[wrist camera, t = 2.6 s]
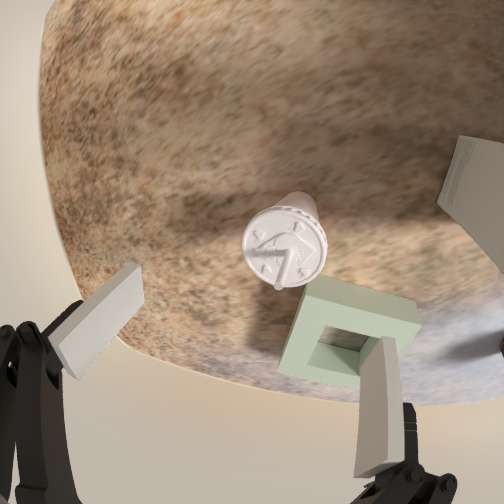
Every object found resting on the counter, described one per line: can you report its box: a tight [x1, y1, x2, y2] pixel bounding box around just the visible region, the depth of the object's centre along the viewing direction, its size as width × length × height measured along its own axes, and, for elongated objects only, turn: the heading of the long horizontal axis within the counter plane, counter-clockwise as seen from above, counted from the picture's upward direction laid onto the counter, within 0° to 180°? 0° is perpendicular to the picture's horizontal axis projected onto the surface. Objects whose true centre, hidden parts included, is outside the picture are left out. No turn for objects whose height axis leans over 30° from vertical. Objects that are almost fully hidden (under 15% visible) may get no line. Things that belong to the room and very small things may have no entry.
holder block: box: [276, 274, 422, 391], centre depth 31 cm, size 14×14×4 cm
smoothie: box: [241, 191, 327, 290], centre depth 22 cm, size 6×6×14 cm
